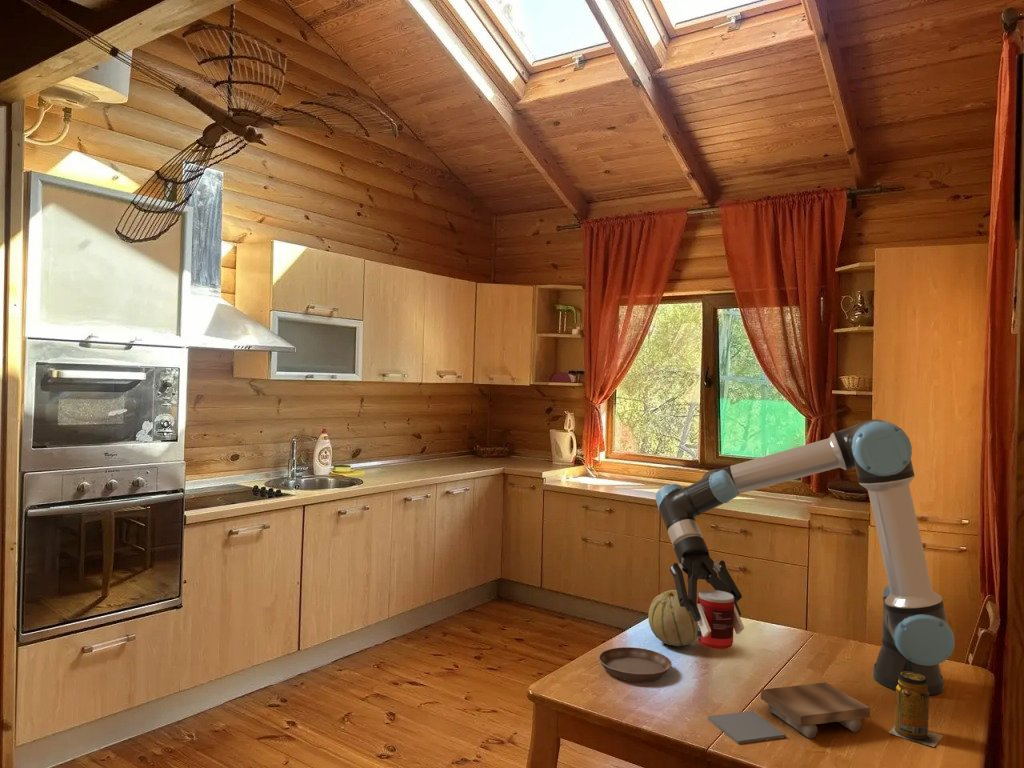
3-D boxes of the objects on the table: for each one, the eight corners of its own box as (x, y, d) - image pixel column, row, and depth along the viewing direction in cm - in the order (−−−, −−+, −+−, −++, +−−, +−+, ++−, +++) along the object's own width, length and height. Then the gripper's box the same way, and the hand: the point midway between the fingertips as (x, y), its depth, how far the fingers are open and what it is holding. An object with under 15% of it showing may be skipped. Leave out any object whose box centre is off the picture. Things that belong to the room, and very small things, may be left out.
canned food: (705, 634, 172) (707, 587, 172) (738, 643, 167) (740, 594, 166) (690, 643, 166) (692, 594, 166) (724, 652, 161) (726, 602, 161)
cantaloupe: (710, 642, 203) (711, 588, 203) (692, 658, 191) (694, 600, 191) (658, 631, 211) (660, 578, 211) (639, 646, 199) (640, 590, 199)
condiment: (898, 722, 158) (900, 666, 158) (943, 736, 152) (945, 678, 152) (887, 733, 152) (889, 676, 152) (933, 748, 147) (935, 688, 147)
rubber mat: (752, 713, 160) (752, 710, 160) (785, 737, 150) (785, 734, 150) (707, 719, 157) (707, 716, 157) (738, 744, 146) (738, 741, 146)
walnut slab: (825, 704, 166) (826, 682, 166) (869, 731, 153) (869, 707, 153) (760, 712, 161) (761, 689, 161) (800, 741, 148) (800, 716, 148)
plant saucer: (603, 654, 193) (604, 642, 193) (673, 662, 188) (673, 650, 188) (593, 680, 176) (593, 668, 176) (669, 691, 171) (669, 678, 171)
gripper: (719, 549, 184) (756, 636, 168) (644, 553, 178) (675, 643, 163) (732, 532, 179) (771, 621, 163) (655, 536, 173) (688, 628, 157)
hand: (723, 632), depth 163 cm, fingers closed on canned food, 8 cm apart
